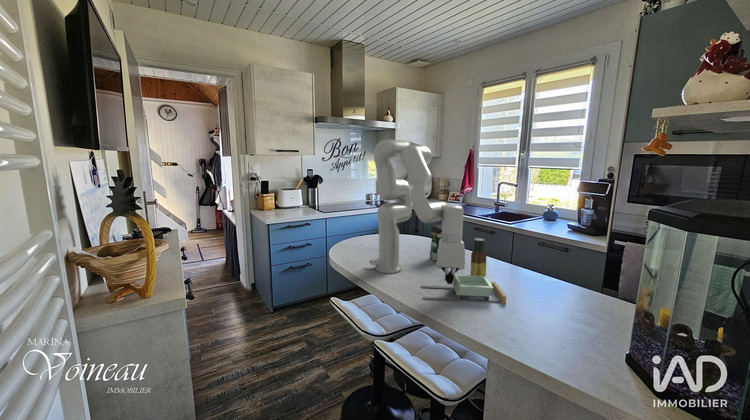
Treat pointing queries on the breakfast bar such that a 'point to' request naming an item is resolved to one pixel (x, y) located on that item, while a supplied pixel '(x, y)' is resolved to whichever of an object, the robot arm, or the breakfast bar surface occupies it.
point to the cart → (472, 286)
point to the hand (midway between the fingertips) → (449, 282)
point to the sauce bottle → (478, 258)
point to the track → (496, 290)
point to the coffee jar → (435, 241)
